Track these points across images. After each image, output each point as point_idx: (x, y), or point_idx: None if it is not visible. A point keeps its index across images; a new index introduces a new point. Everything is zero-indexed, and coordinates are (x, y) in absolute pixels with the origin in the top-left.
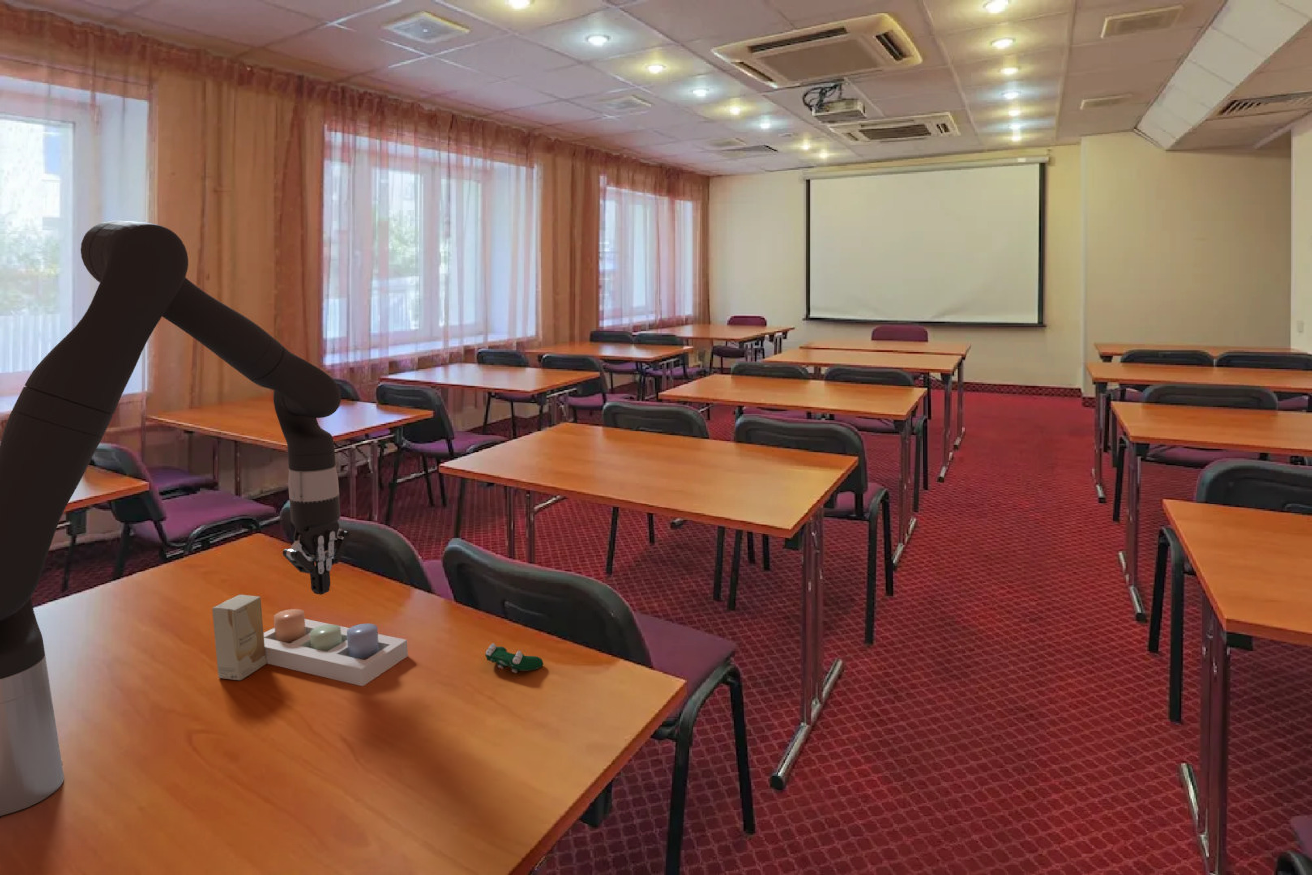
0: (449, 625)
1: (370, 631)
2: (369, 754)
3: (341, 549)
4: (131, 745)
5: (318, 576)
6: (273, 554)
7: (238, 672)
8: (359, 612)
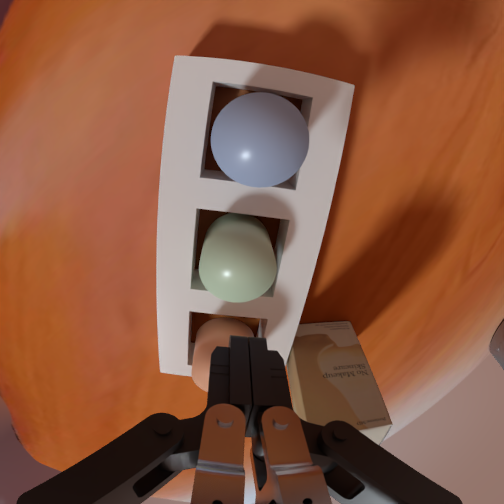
0: (32, 81)
1: (267, 105)
2: (484, 18)
3: (108, 465)
4: (475, 313)
5: (280, 404)
6: (41, 446)
7: (354, 331)
8: (56, 296)
